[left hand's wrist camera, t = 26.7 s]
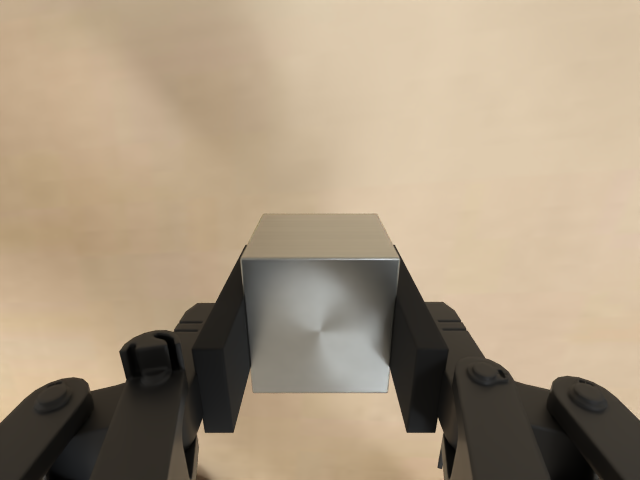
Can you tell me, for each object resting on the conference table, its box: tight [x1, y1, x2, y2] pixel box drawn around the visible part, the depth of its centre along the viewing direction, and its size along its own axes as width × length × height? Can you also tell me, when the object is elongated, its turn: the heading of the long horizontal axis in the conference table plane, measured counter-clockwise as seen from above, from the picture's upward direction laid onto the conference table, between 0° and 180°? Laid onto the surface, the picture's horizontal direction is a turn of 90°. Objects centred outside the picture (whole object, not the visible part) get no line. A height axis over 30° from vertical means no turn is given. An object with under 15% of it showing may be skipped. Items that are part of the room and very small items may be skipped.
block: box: [240, 214, 400, 393], centre depth 13 cm, size 5×5×4 cm
